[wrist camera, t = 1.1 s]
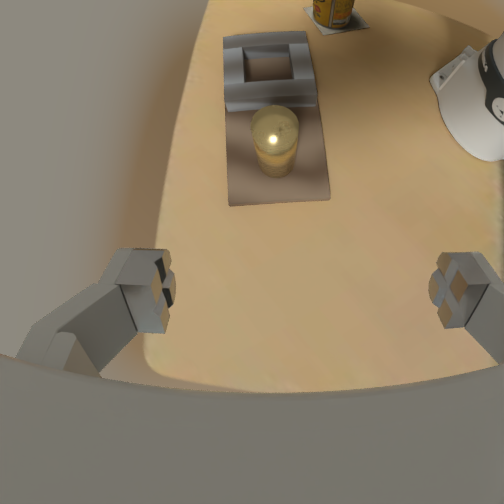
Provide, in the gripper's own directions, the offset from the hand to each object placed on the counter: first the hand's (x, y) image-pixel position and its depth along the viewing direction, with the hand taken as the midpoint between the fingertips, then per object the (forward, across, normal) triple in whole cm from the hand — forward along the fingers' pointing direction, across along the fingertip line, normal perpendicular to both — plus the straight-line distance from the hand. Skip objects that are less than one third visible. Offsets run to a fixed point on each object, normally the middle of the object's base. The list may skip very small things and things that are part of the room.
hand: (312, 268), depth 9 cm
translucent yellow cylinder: (+30, 0, +8) cm, 30 cm away
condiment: (+47, -10, -12) cm, 50 cm away
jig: (+35, 0, +3) cm, 35 cm away
